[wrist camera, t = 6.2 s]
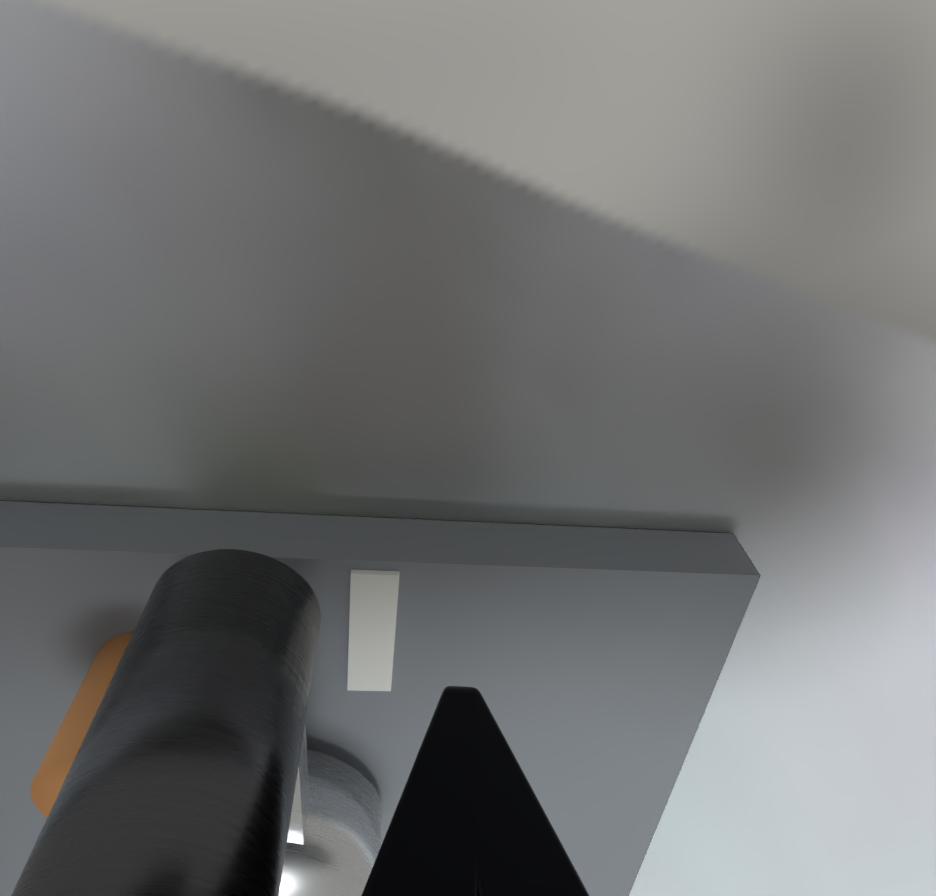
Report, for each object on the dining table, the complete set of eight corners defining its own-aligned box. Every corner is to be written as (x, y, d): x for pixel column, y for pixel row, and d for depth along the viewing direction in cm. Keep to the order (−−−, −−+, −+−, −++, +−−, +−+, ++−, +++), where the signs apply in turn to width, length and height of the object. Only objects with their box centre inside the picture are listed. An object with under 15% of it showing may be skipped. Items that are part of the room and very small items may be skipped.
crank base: (-7, 910, 18) (-94, 1092, 15) (-192, 491, 11) (-416, 661, 8) (597, 899, 20) (631, 1059, 17) (733, 533, 13) (831, 685, 10)
